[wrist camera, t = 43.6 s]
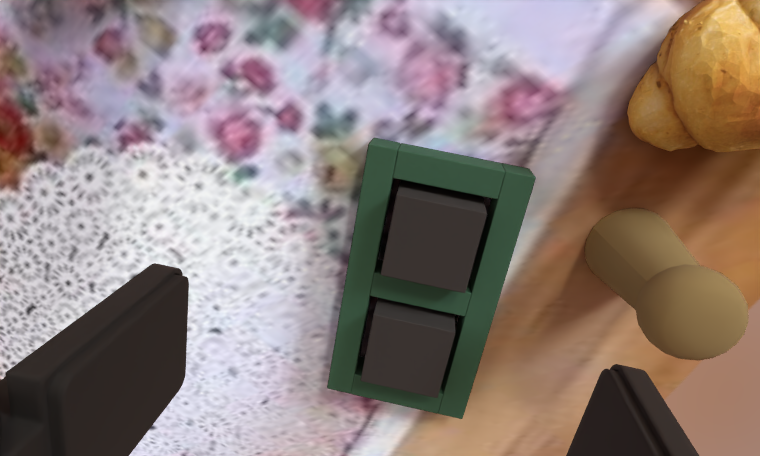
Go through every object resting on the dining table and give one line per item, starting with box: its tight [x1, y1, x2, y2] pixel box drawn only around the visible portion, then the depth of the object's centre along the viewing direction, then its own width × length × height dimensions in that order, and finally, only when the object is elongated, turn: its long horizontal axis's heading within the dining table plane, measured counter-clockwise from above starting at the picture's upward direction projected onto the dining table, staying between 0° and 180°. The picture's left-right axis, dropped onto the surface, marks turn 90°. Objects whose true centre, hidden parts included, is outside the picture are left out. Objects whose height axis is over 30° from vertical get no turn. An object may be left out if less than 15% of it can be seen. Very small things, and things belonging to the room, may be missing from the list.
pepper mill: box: [585, 208, 748, 360], centre depth 30 cm, size 6×6×11 cm
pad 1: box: [381, 180, 487, 293], centre depth 34 cm, size 6×6×4 cm
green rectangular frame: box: [327, 138, 536, 419], centre depth 37 cm, size 11×20×2 cm, turn 170°
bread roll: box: [627, 0, 760, 152], centre depth 27 cm, size 13×10×8 cm
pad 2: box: [361, 298, 455, 398], centre depth 38 cm, size 6×6×4 cm
